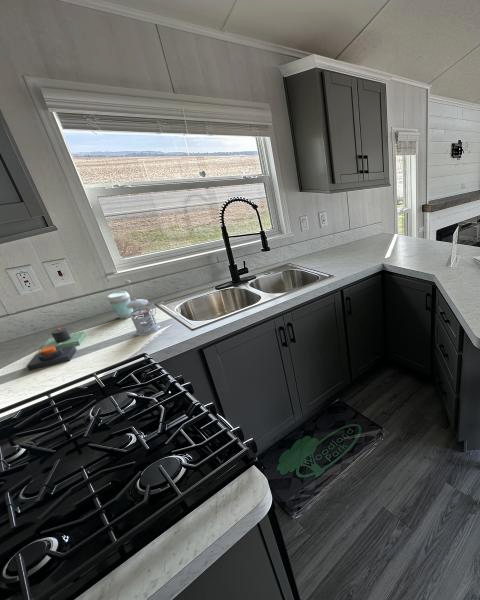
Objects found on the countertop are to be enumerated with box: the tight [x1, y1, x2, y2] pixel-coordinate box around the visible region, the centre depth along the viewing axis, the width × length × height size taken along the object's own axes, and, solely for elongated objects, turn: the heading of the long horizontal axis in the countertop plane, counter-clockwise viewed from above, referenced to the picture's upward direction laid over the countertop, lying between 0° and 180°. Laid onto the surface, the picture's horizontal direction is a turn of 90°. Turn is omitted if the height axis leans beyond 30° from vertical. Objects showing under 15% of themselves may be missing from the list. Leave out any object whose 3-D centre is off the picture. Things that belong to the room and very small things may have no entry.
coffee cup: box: [107, 290, 134, 320], centre depth 162 cm, size 8×8×12 cm
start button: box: [40, 346, 57, 355], centre depth 129 cm, size 4×4×2 cm
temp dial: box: [50, 327, 71, 343], centre depth 140 cm, size 5×5×5 cm
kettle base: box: [26, 346, 78, 371], centre depth 130 cm, size 12×9×4 cm
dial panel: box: [40, 330, 87, 351], centre depth 142 cm, size 12×10×2 cm
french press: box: [124, 279, 161, 337], centre depth 146 cm, size 10×12×25 cm
